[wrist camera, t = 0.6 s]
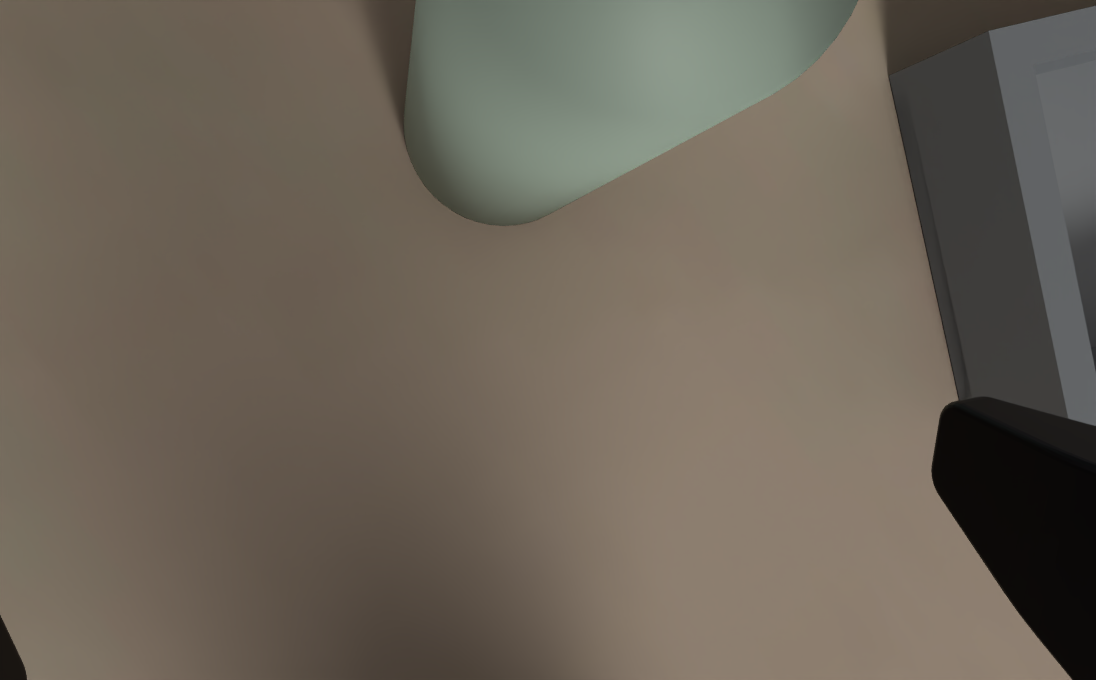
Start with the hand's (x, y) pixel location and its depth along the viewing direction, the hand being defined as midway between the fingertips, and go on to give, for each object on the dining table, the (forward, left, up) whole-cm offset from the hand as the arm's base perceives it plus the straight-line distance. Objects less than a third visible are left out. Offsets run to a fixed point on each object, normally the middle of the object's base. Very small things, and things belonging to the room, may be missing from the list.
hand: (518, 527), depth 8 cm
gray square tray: (0, -19, -14) cm, 24 cm away
